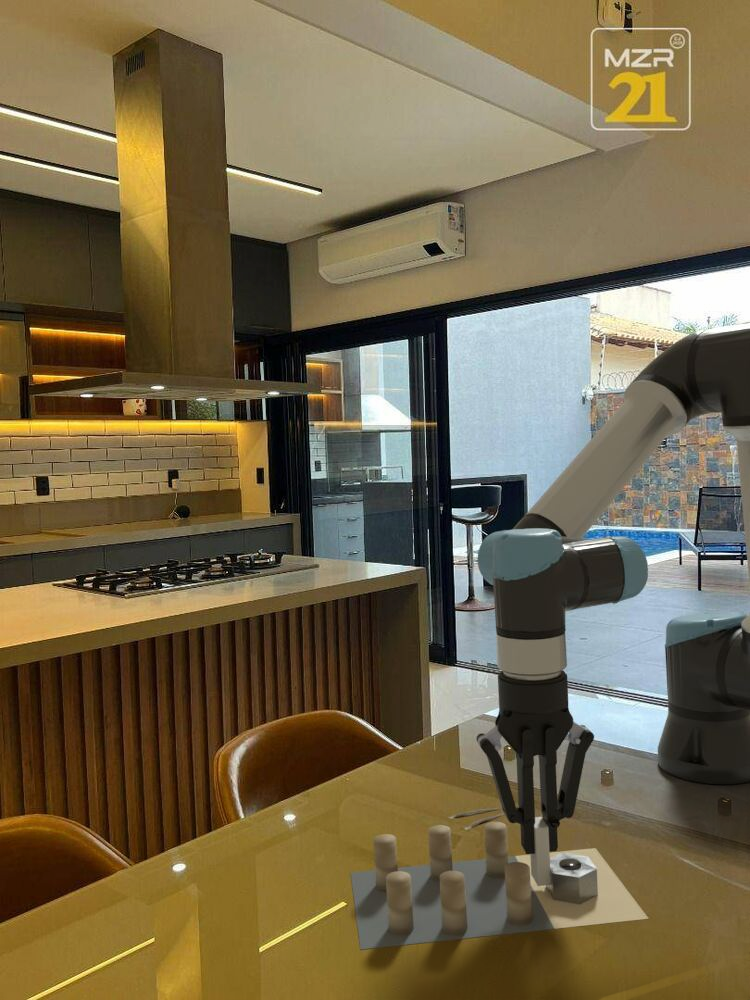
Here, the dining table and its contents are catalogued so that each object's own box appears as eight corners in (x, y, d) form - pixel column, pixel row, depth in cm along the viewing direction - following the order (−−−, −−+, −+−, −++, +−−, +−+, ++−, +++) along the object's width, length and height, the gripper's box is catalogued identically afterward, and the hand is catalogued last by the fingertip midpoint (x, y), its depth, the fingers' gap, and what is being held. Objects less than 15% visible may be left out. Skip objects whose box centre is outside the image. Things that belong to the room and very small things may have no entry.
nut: (584, 876, 99) (583, 849, 99) (602, 902, 93) (601, 874, 93) (542, 880, 99) (540, 853, 99) (557, 906, 93) (556, 878, 93)
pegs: (504, 864, 103) (502, 819, 103) (536, 926, 89) (534, 875, 89) (374, 877, 102) (371, 831, 101) (386, 942, 88) (383, 890, 88)
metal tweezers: (460, 840, 112) (460, 825, 112) (442, 827, 116) (442, 813, 116) (569, 818, 120) (569, 803, 120) (548, 806, 124) (548, 793, 124)
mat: (595, 852, 106) (595, 848, 106) (648, 924, 90) (648, 918, 90) (350, 877, 103) (350, 872, 103) (360, 955, 87) (360, 949, 87)
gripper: (578, 658, 99) (586, 858, 101) (466, 666, 98) (476, 868, 100) (601, 675, 92) (609, 890, 93) (480, 684, 91) (490, 902, 92)
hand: (540, 879), depth 96 cm, fingers closed
